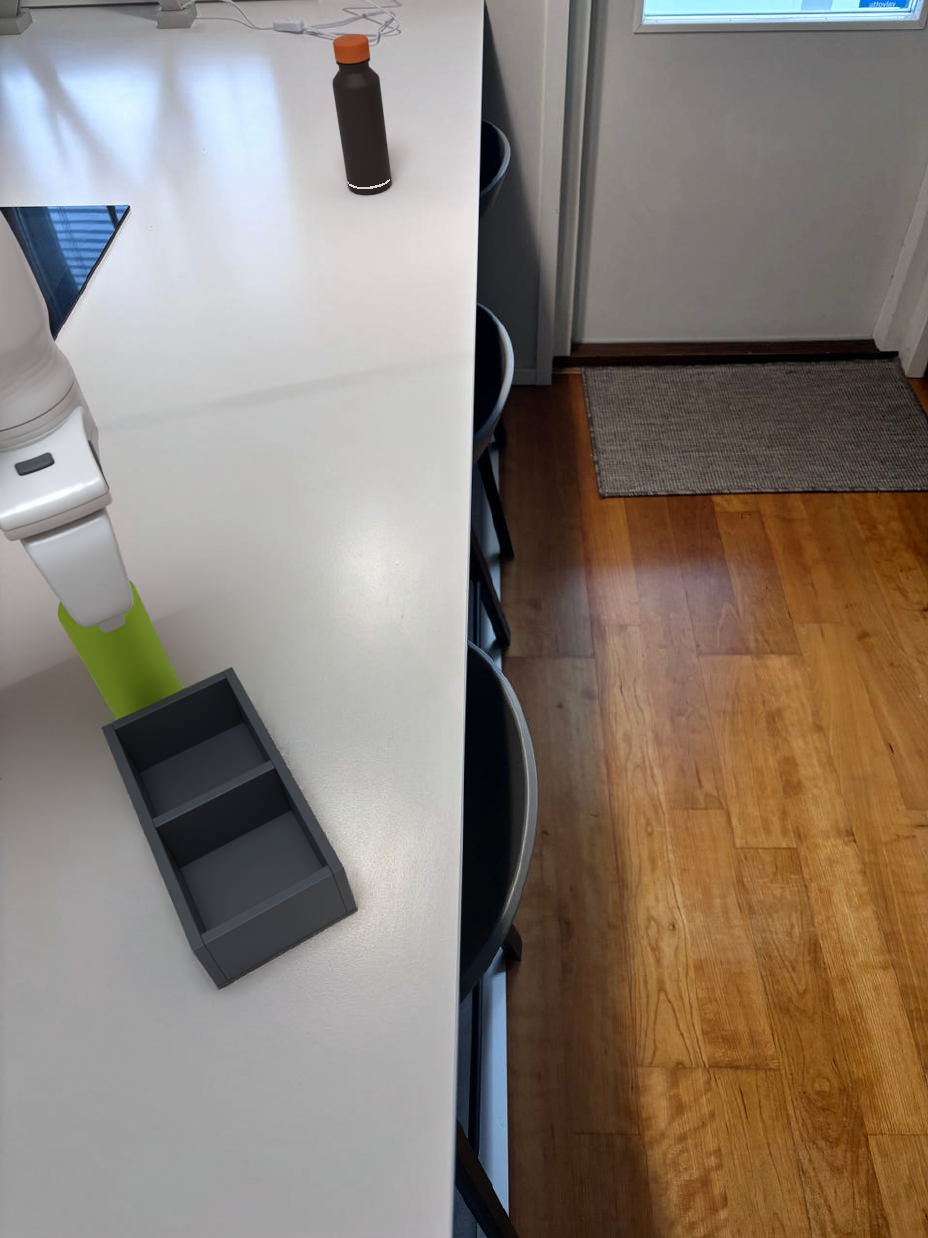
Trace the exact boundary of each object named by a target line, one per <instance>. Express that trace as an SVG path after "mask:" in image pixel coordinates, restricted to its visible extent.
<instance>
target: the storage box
mask: <svg viewBox="0 0 928 1238" xmlns="http://www.w3.org/2000/svg"><path fill="white" fill-rule="evenodd" d="M182 689H183V690H181V691H179V692H176V693H174V694H172V695H170V696H168V697H166V698H163V699H161V700H159V701H157V702H155V703H153V704H150V705H148V706H146V707H144V708H142V709H140V710H137V711H135V712H133V713H131V714H129V715H127V716H124V717H122V718H120V719H118V720H116V719H115V720H113V721H112V722H110V723H108V724H106V725H103V726H101V731H102V733H103V735H104V737H105V740H106V743H107V745H108V747H109V750H110V752H111V755H112V757H113V760H114V763H115V765H116V767H117V770H118V772H119V774H120V777H121V779H122V782H123V784H124V787H125V790H126V792H127V795H128V797H129V800H130V802H131V804H132V807H133V809H134V812H135V814H136V817H137V819H138V822H139V824H140V826H141V828H142V831H143V833H144V836H145V838H146V841H147V843H148V846H149V849H150V851H151V853H152V856H153V858H154V860H155V863H156V865H157V868H158V870H159V872H160V875H161V878H162V880H163V882H164V885H165V887H166V890H167V893H168V895H169V897H170V900H171V902H172V904H173V907H174V910H175V912H176V915H177V916H178V919H179V922H180V925H181V926H182V927H181V928H182V929H183V932H184V934H185V937H186V939H187V942H188V944H189V946H190V949H191V951H192V953H193V954H194V956H195V957H196V959H197V960H198V962H199V963H200V964H201V966H202V968H203V969H204V971H205V972H206V973H207V975H208V976H209V978H210V980H211V981H212V982H213V983H214V985H215V987H216V988H217V989H218V990H222V988H224V987H226V986H228V985H230V984H231V983H233V982H235V981H237V980H239V979H240V978H242V977H244V976H245V975H247V974H249V973H250V972H252V971H254V970H256V969H258V968H260V967H261V966H263V965H265V964H267V963H268V962H270V961H272V960H274V959H275V958H277V957H279V956H281V955H282V954H284V953H286V952H288V951H289V950H291V949H294V948H295V947H296V946H298V945H300V944H301V943H304V942H305V941H307V940H309V939H310V938H312V937H314V936H316V935H318V934H319V933H321V932H323V931H324V930H326V929H327V928H330V927H331V926H333V925H335V924H337V923H338V922H341V921H342V920H344V919H346V918H347V917H349V916H351V915H352V914H354V913H356V912H358V911H359V909H358V906H357V903H356V900H355V897H354V894H353V891H352V888H351V885H350V882H349V879H348V876H347V873H346V870H345V867H344V866H343V863H342V862H341V860H340V858H339V857H338V855H337V853H336V851H335V849H334V848H333V845H332V844H331V842H330V840H329V839H328V837H327V835H326V833H325V831H324V830H323V827H322V826H321V824H320V821H318V818H317V817H316V815H315V814H314V811H313V810H312V808H311V806H310V804H309V802H308V801H307V799H306V796H305V795H304V793H303V792H302V790H301V788H300V787H299V784H298V783H297V781H296V778H295V777H294V775H293V774H292V772H291V770H290V769H289V766H288V765H287V763H286V761H285V759H284V758H283V756H282V754H281V752H280V750H279V749H278V747H277V745H276V743H275V741H274V740H273V738H272V736H271V735H270V733H269V730H268V729H267V727H266V725H265V724H264V722H263V720H262V718H261V716H260V714H259V712H258V711H257V709H256V707H255V705H254V703H253V702H252V700H251V698H250V696H249V695H248V692H247V691H246V689H245V688H244V685H243V683H242V682H241V680H240V679H239V677H238V675H237V673H236V672H235V669H234V668H233V667H232V666H231V667H228V668H226V669H224V670H223V671H220V672H217V673H215V674H213V675H211V676H209V677H207V678H204V679H202V680H200V681H198V682H196V683H194V684H192V685H190V686H187V687H185V688H182Z"/></svg>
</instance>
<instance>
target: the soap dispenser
mask: <svg viewBox="0 0 928 1238" xmlns="http://www.w3.org/2000/svg"><path fill="white" fill-rule="evenodd" d="M129 582H130V585H131V589H132V593H133V606H132V608H131V609H130V610H129V611H127V612H126V613H123V615H124V617H125V619H126V622H125V624H124V625H123V626H122V627H119V628H117V629H114V630H112V631H110V632H103V631H101V630H100V628H99V626H98V624H97V625H95V626H92V627H83V626H81V625H79V624H78V623H77V622H76V621H75V620H74V619H73V618H72V617H71V616H70V615H69V613H68V612H67V610H66V609H65V608H64V606H63V605H62V603H61V602H60V601H59V603H58V607H57V618H58V620H59V622H60V624H61V626H62V628H63V629H64V631H65V633H66V634H67V636H68V638H69V640H70V641H71V643H72V645H73V647H74V649H75V650H76V652H77V654H78V655H79V658H80V659H81V661H82V662H83V664H84V666H85V668H86V669H87V671H88V673H89V674H90V676H91V678H92V680H93V682H94V683H95V685H96V687H97V688H98V691H99V692H100V694H101V696H102V697H103V699H104V701H105V703H106V705H107V706H108V708H109V710H110V711H111V713H112V715H113V716H114V718H115V721H116V720H118V719H120V718H122V717H124V716H127V715H129V714H131V713H133V712H135V711H137V710H140V709H142V708H144V707H146V706H148V705H150V704H153V703H155V702H157V701H159V700H161V699H163V698H166V697H168V696H170V695H172V694H174V693H176V692H179V691H181V690H183V689H184V688H183V687H182V684H181V682H180V680H179V678H178V676H177V674H176V671H175V670H174V668H173V666H172V665H173V664H172V662H171V661H170V659H169V657H168V654H167V653H166V650H165V647H164V646H163V644H162V642H161V640H160V637H159V635H158V633H157V631H156V629H155V627H154V624H153V622H152V620H151V618H150V615H149V614H148V612H147V609H146V607H145V605H144V603H143V601H142V598H141V596H140V594H139V592H138V590H137V588H136V586H135V584H134V583H133V582H132V581H131V580H130V579H129Z"/></svg>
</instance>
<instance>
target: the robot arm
mask: <svg viewBox="0 0 928 1238" xmlns="http://www.w3.org/2000/svg"><path fill="white" fill-rule="evenodd" d="M42 293H43V292H42V291H41V289H40V286H39V283H38V282H37V279H36V277H35V275H34V273H33V271H32V268H31V266H30V264H29V261H28V260H27V258H26V256H25V253H24V251H23V249H22V248H21V245H20V243H19V241H18V239H17V237H16V235H15V234H14V232H13V230H12V228H11V226H10V225H9V222H8V221H7V219H6V218H5V216H4V214H3V212H2V211H1V210H0V530H1V532H2V533H3V535H4V537H5V538H6V539H7V540H8V541H9V542H16V541H19V543H20V544H21V545H22V547H23V548H24V550H25V552H26V554H27V555H28V557H29V558H30V560H31V561H32V563H33V564H34V566H35V568H36V569H37V570H38V572H39V573H40V574H41V576H42V578H43V579H44V580H45V582H46V583H47V585H48V586H49V588H50V589H51V590H52V592H53V594H54V595H55V596H56V598H57V599H58V601H59V603H60V602H61V603H62V605H63V606H64V608H65V609H66V610H67V612H68V613H69V615H70V616H71V617H72V618H73V619H74V620H75V621H76V622H77V623H78V624H79V625H81V626H83V627H92V626H95V625H97V624H98V626H99V628H100V630H101V631H103V632H110V631H112V630H114V629H117V628H119V627H122V626H123V625H124V624H125V622H126V619H125V617H124V615H123V613H126V612H127V611H129V610H130V609H131V608H132V606H133V593H132V589H131V585H130V582H129V580H130V579H129V576H128V575H129V574H128V572H127V569H126V565H125V562H124V558H123V555H122V552H121V549H120V545H119V543H118V540H117V536H116V533H115V530H114V527H113V524H112V520H111V518H110V517H111V516H110V514H109V512H108V509H107V507H108V506H110V505H111V504H112V503H113V501H114V500H113V496H112V494H111V491H110V486H109V484H108V481H107V479H106V477H105V474H104V471H103V467H102V464H101V459H100V446H99V445H100V444H99V437H100V436H99V429H98V427H97V424H96V422H95V419H94V417H93V414H92V412H91V410H90V409H91V408H90V407H89V405H88V402H87V400H86V398H85V395H84V393H83V391H82V388H81V385H80V383H79V381H78V378H77V376H76V373H75V371H74V368H73V366H72V364H71V362H70V360H69V359H68V357H67V355H66V354H65V353H64V352H63V351H62V350H61V349H60V347H59V346H58V345H57V342H56V341H55V340H54V337H53V336H52V332H51V328H50V317H49V310H48V307H47V303H46V300H45V298H44V295H43V294H42Z"/></svg>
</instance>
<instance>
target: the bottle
mask: <svg viewBox="0 0 928 1238" xmlns="http://www.w3.org/2000/svg"><path fill="white" fill-rule="evenodd" d="M332 47H333V54H334V60H335V64H336V65H337V66H338V71H337V72H336V73H335V75H334V77H333V78H332V85H331V86H332V91H333V98H334V104H335V111H336V112H335V113H336V117H337V124H338V130H339V138H340V145H341V150H342V156H343V163H344V169H345V177H346V182H347V181H348V182H349V184H352V185H354V186H357V187H370V186H375V185H379V184H382V183H385V182H386V181H387V180H389V179H390V177H391V178H392V173H391V164H390V154H389V147H388V137H387V130H386V129H387V128H386V121H385V113H384V104H383V103H384V102H383V97H382V86H381V79H380V76H379V74H378V73H377V72H376V71H375V70H374V69H372V67H370V61H371V51H370V43H369V37H367V36H366V35H364V34H359V33H350V34H343V35H341V36H338V37H335V39H334V40H333V41H332ZM349 184H348V183H347V188H348V189H349V190H350V192H352V193H355V194H358V195H375V194H379V193H383V192H385V191H386V190H388V189H389V188H390V187H391V185H392V179H391V180H390V181H389V182H388V183H387V184H385V185H383V186H381V187H377V188H373V189H357V188H353V187H351V186H349Z"/></svg>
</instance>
